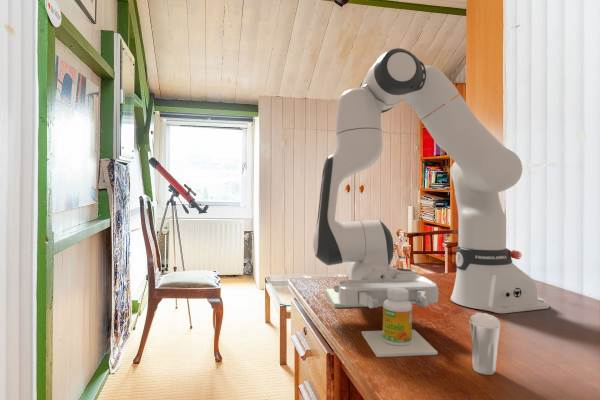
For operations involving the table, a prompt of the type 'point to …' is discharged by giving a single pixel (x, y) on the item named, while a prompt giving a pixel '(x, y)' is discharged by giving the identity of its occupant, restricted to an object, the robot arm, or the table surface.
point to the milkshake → (484, 342)
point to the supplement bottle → (397, 317)
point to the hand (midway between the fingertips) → (398, 303)
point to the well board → (337, 299)
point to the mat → (387, 350)
